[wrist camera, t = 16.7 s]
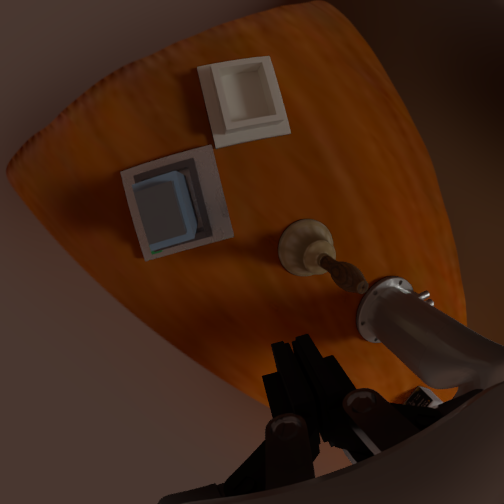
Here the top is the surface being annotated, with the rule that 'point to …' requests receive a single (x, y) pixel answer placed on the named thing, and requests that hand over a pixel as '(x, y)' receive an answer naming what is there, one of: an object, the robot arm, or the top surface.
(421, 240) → the top surface
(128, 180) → the port
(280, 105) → the box
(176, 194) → the plug
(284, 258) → the hand bell
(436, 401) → the medicine bottle
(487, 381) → the robot arm
